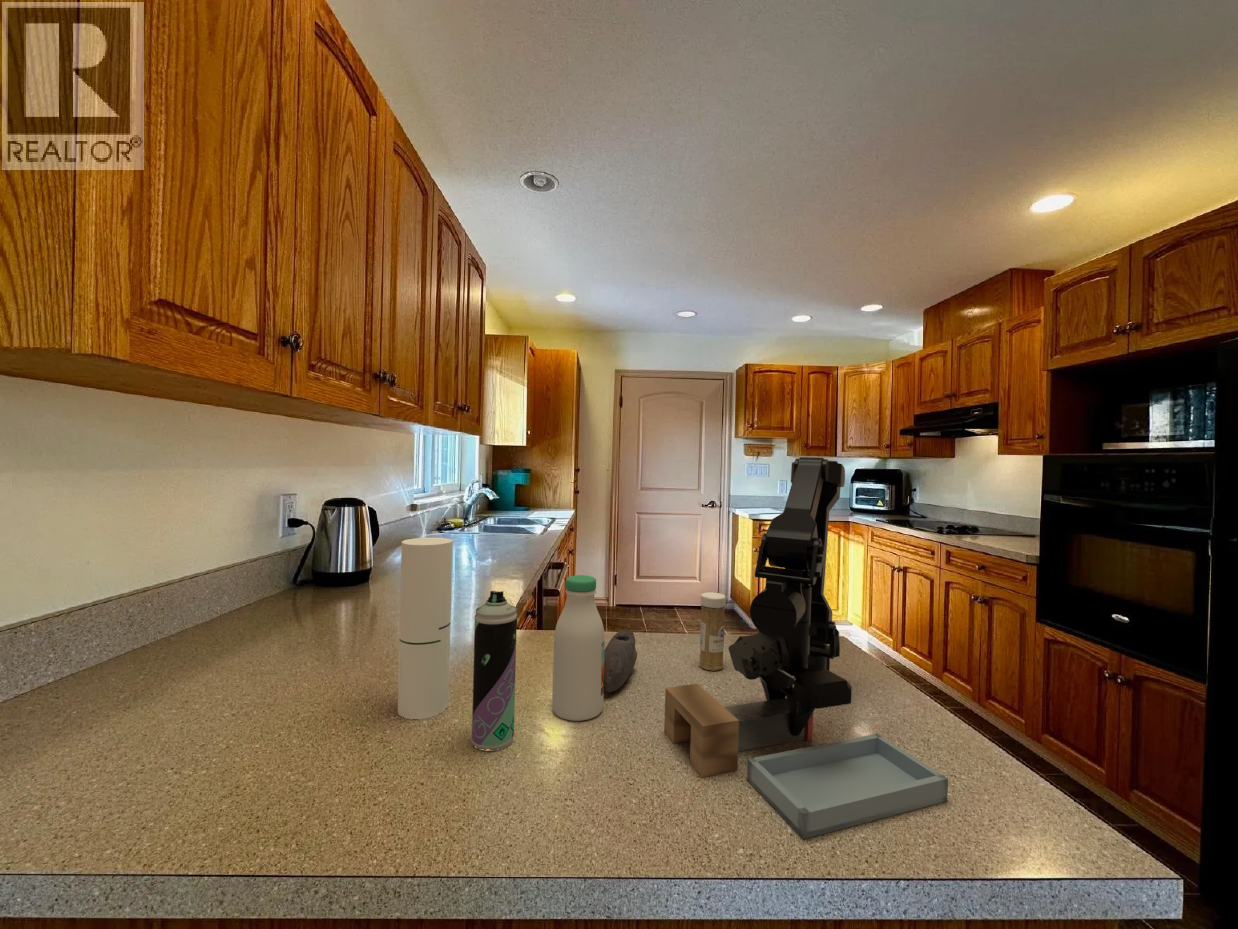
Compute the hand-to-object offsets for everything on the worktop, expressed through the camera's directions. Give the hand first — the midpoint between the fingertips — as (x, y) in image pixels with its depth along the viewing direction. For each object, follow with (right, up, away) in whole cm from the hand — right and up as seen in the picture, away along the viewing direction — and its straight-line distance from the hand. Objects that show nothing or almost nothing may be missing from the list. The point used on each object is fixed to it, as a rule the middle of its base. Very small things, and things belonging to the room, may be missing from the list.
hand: (785, 727), depth 72 cm
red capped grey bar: (-5, -1, -2) cm, 6 cm away
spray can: (-40, 0, -4) cm, 40 cm away
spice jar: (-6, -1, +23) cm, 24 cm away
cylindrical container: (-53, 0, +5) cm, 53 cm away
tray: (+3, -1, -12) cm, 13 cm away
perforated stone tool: (-24, -1, +16) cm, 29 cm away
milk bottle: (-30, 0, +5) cm, 30 cm away
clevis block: (-13, -1, -5) cm, 14 cm away
